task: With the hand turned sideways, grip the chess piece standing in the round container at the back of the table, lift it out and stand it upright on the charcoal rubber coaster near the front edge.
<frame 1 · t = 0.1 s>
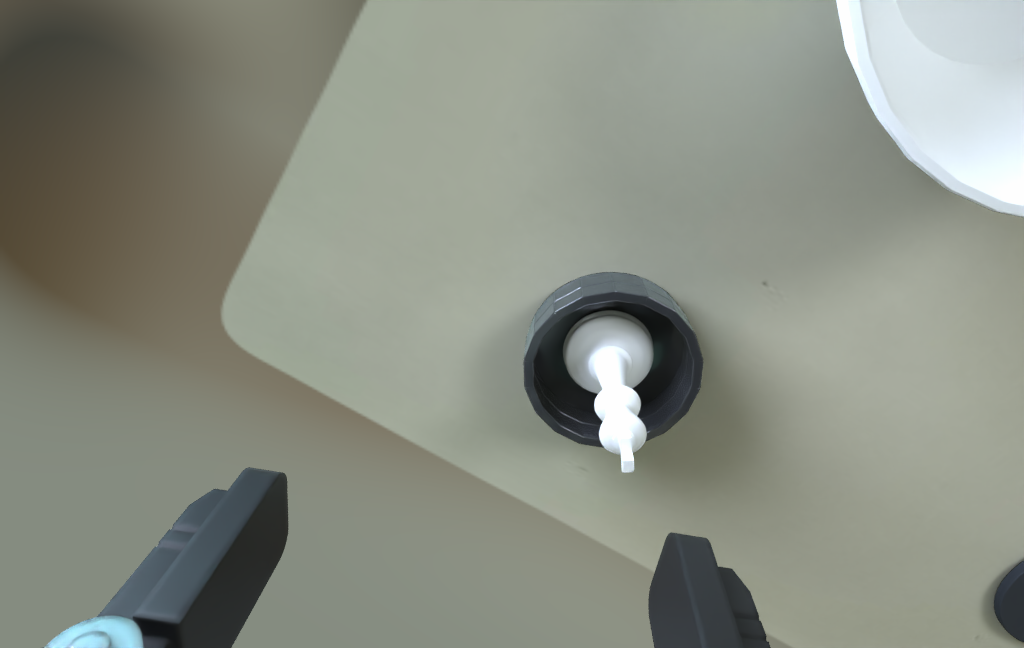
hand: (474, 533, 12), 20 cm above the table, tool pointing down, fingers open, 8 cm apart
chess piece: (607, 349, 32), resting on round container
round container: (607, 348, 32), on the table
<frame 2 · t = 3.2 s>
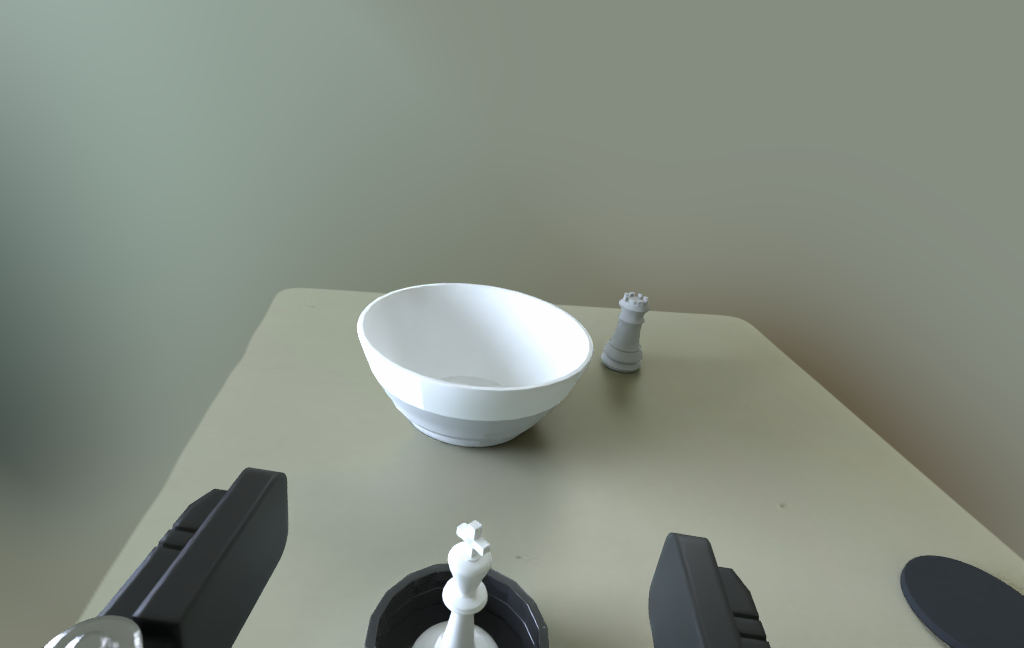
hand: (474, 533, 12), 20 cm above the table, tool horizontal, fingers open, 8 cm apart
coaster: (976, 615, 38), on the table
rook chess piece: (619, 365, 64), on the table
bowl: (467, 412, 52), on the table
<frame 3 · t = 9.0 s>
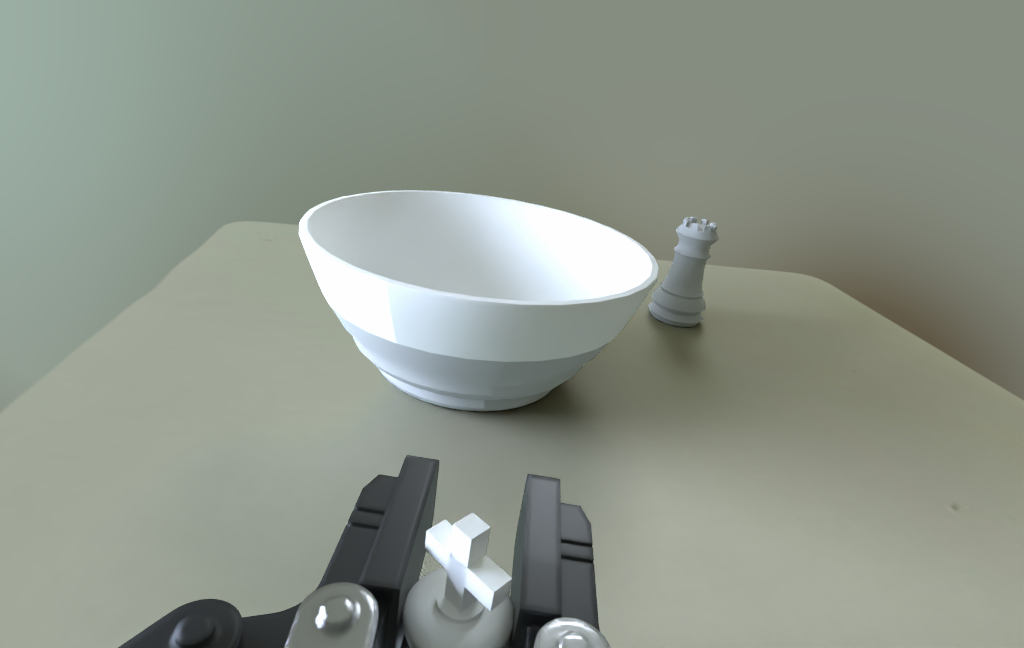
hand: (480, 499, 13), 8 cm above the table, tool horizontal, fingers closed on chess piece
rook chess piece: (673, 319, 48), on the table
bowl: (468, 366, 36), on the table
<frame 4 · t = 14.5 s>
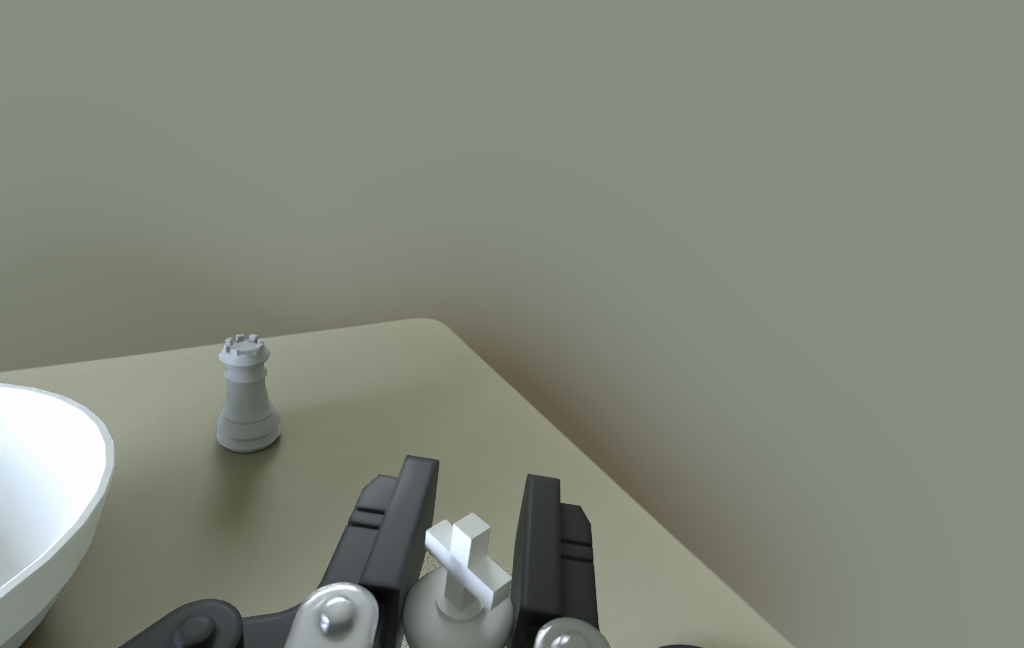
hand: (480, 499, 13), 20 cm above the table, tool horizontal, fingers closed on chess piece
rook chess piece: (249, 438, 44), on the table
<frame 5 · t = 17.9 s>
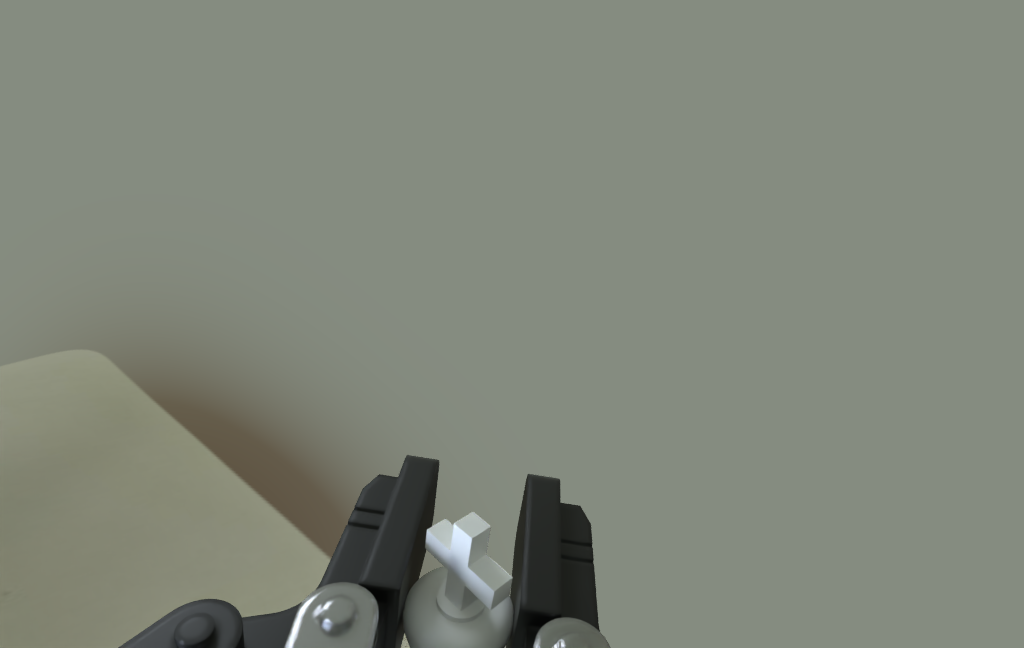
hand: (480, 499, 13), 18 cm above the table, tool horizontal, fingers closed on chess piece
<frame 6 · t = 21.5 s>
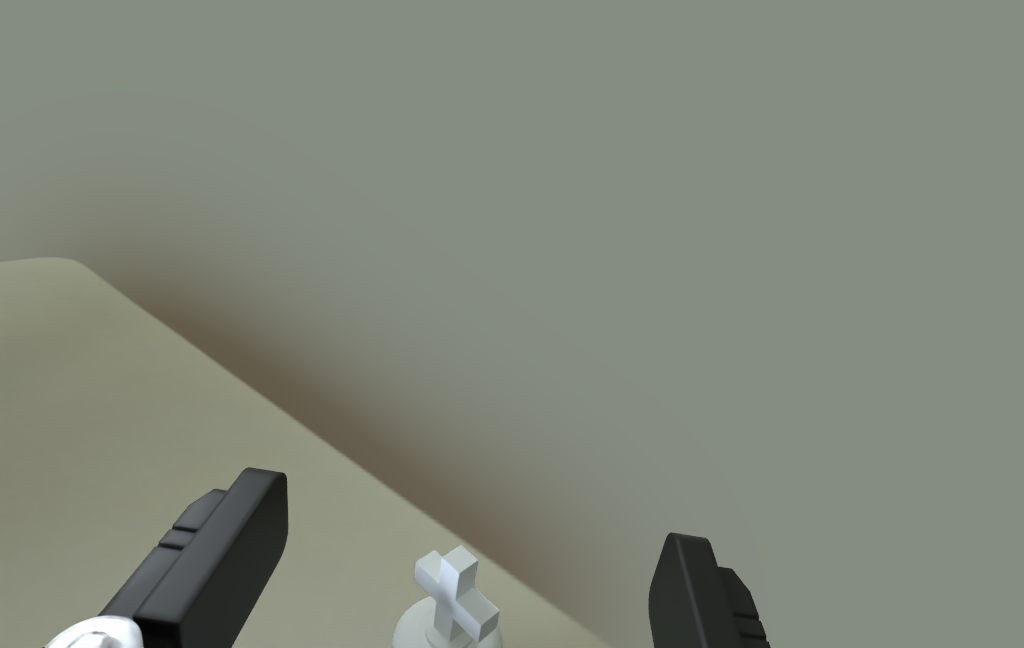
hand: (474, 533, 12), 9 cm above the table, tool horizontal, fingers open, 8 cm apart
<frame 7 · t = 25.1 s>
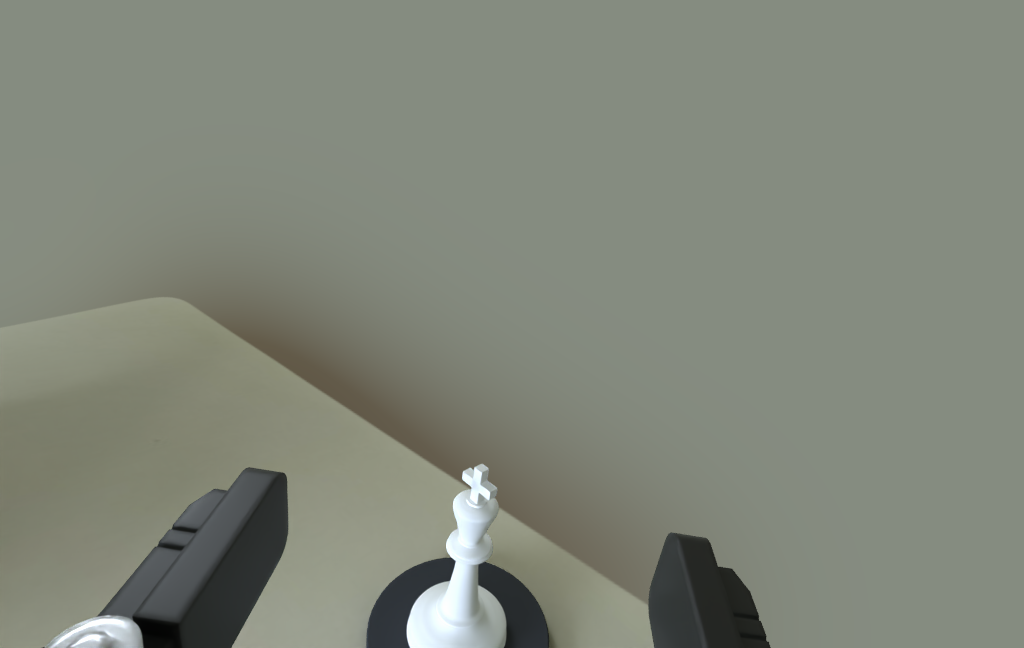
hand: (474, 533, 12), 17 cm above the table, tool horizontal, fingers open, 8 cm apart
chess piece: (456, 632, 29), resting on coaster
coaster: (458, 635, 29), on the table
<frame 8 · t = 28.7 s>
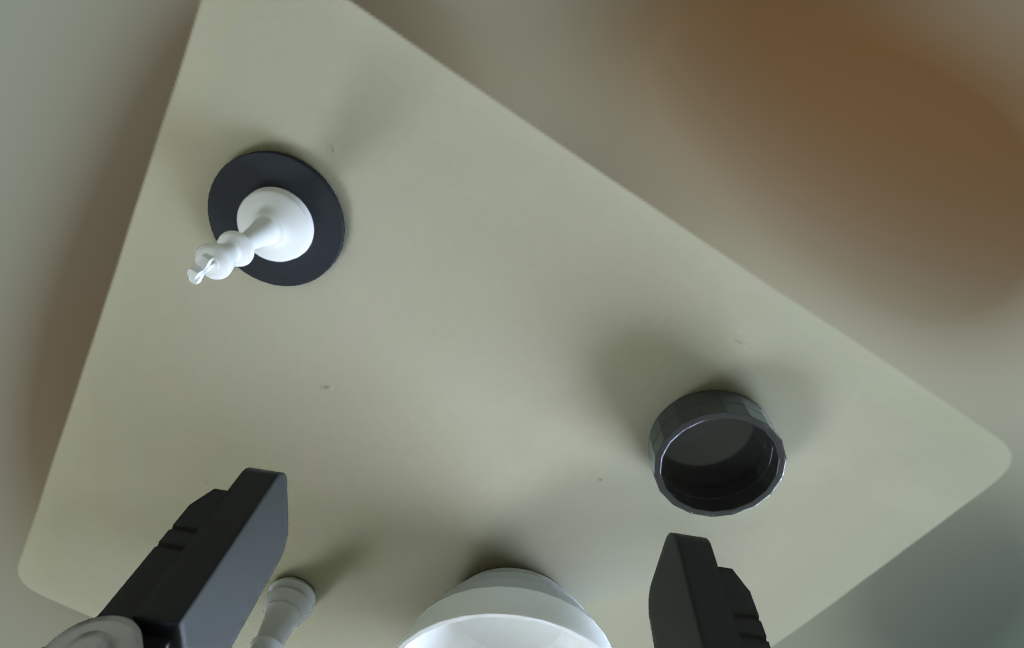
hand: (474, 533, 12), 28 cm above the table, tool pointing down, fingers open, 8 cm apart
chess piece: (278, 223, 39), resting on coaster
coaster: (278, 220, 39), on the table
rook chess piece: (294, 590, 54), on the table
round container: (708, 441, 44), on the table
bowl: (512, 609, 53), on the table
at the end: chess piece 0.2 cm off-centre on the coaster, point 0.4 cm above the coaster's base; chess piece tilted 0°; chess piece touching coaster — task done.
